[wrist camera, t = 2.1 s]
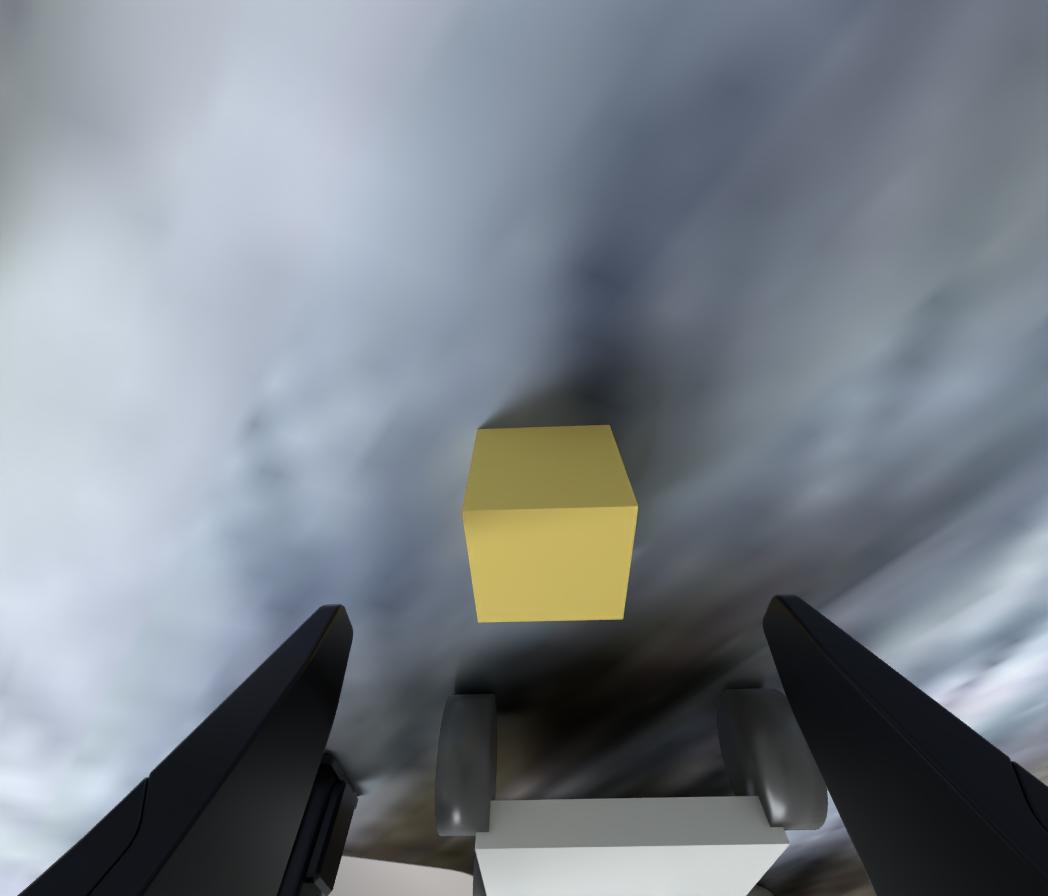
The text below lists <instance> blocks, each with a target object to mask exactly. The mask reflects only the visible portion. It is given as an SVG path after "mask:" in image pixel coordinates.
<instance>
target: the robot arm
mask: <svg viewBox="0 0 1048 896" xmlns="http://www.w3.org/2000/svg"><path fill="white" fill-rule="evenodd" d="M763 630H764V633H765V636H766V639H767V642H768V645H769V647H770V650H771V653H772V656H773V659H774V662H775V665H776V668H777V671H778V674H779V676H780V679H781V682H782V685H783V688H784V691H785V694H786V696H787V699H788V702H789V704H790V707H791V709H792V712H793V714H794V716H795V719H796V721H797V723H798V725H799V727H800V729H801V732H802V734H803V736H804V738H805V740H806V743H807V745H808V747H809V749H810V751H811V753H812V756H813V758H814V760H815V762H816V764H817V767H818V769H819V771H820V773H821V775H822V778H823V780H824V782H825V784H826V786H827V788H828V791H829V793H830V795H831V797H832V799H833V802H834V804H835V806H836V808H837V810H838V812H839V815H840V817H841V819H842V821H843V823H844V826H845V828H846V830H847V832H848V834H849V836H850V839H851V841H852V843H853V845H854V847H855V850H856V852H857V854H858V856H859V858H860V861H861V863H862V865H863V867H864V869H865V871H866V874H867V876H868V878H869V880H870V882H871V885H872V887H873V889H874V891H875V893H876V895H877V896H1048V786H1046V785H1045V784H1044V783H1043V782H1041V781H1040V780H1039V779H1037V778H1036V777H1035V776H1033V775H1032V774H1031V773H1029V772H1028V771H1027V770H1025V769H1024V768H1023V767H1022V766H1020V765H1019V764H1018V763H1016V762H1014V761H1011V760H1010V758H1009V757H1008V756H1007V755H1006V754H1004V753H1003V752H1002V751H1000V750H999V749H998V748H996V747H995V746H994V745H992V744H991V743H990V742H989V741H987V740H986V739H985V738H983V737H982V736H981V735H979V734H978V733H977V732H975V731H974V730H973V729H971V728H970V727H969V726H968V725H966V724H965V723H964V722H962V721H961V720H960V719H958V718H957V717H956V716H954V715H953V714H952V713H950V712H949V711H948V710H947V709H945V708H944V707H943V706H941V705H940V704H939V703H937V702H936V701H935V700H933V699H932V698H931V697H930V696H928V695H927V694H926V693H924V692H923V691H922V690H920V689H919V688H918V687H916V686H915V685H914V684H912V683H911V682H910V681H909V680H907V679H906V678H905V677H903V676H902V675H901V674H899V673H898V672H897V671H895V670H894V669H893V668H891V667H890V666H889V665H888V664H886V663H885V662H884V661H882V660H881V659H880V658H878V657H877V656H876V655H874V654H873V653H872V652H870V651H869V650H868V649H867V648H865V647H864V646H863V645H861V644H860V643H859V642H857V641H856V640H855V639H853V638H852V637H851V636H849V635H848V634H847V633H846V632H844V631H843V630H842V629H840V628H839V627H838V626H836V625H835V624H834V623H832V622H831V621H830V620H829V619H827V618H826V617H825V616H823V615H822V614H821V613H819V612H818V611H817V610H815V609H814V608H813V607H811V606H810V605H809V604H808V603H806V602H805V601H804V600H802V599H801V598H799V597H798V596H796V595H791V594H787V595H775V596H773V597H772V599H771V601H770V604H769V606H768V608H767V611H766V613H765V615H764V618H763ZM352 639H353V628H352V625H351V623H350V620H349V617H348V615H347V612H346V609H345V607H344V606H343V605H341V604H329V605H323V606H321V607H320V608H319V609H318V610H316V611H315V612H314V613H313V614H312V615H311V616H310V617H309V618H308V619H307V620H306V621H305V622H304V623H303V624H302V625H301V626H300V627H299V628H298V629H297V630H296V631H295V632H294V633H293V634H292V635H291V636H290V637H289V638H288V639H287V640H286V641H285V642H284V643H283V644H282V645H281V646H280V647H279V648H278V649H277V650H276V651H274V652H273V653H272V654H271V655H270V656H269V657H268V658H267V659H266V660H265V661H264V662H263V663H262V664H261V665H260V666H259V667H258V668H257V669H256V670H255V671H254V672H253V673H252V674H251V675H250V676H249V677H248V678H247V679H246V680H245V681H244V682H243V683H242V684H241V685H240V686H239V687H238V688H237V689H236V690H235V691H234V692H233V693H231V694H230V695H229V696H228V697H227V698H226V699H225V700H224V701H223V702H222V703H221V704H220V705H219V706H218V707H217V708H216V709H215V710H214V711H213V712H212V713H211V714H210V715H209V716H208V717H207V718H206V719H205V720H204V721H203V722H202V723H201V724H200V725H199V726H198V727H197V728H196V729H195V730H194V731H193V732H192V733H191V734H189V735H188V736H187V737H186V738H185V739H184V740H183V741H182V742H181V743H180V744H179V745H178V746H177V747H176V748H175V749H174V750H173V751H172V752H171V753H170V754H169V755H168V756H167V757H166V758H165V759H164V760H163V761H162V762H161V763H160V764H159V765H158V766H157V767H156V768H155V769H154V770H153V771H152V772H151V773H150V775H149V778H148V777H147V778H144V779H143V780H142V781H141V782H140V783H139V784H138V785H137V786H136V787H135V788H134V789H133V790H132V791H131V792H130V793H129V794H128V795H127V796H126V797H125V798H124V799H123V800H122V801H121V802H120V803H119V804H117V805H116V806H115V807H114V808H113V809H112V810H111V811H110V812H109V813H108V814H107V815H106V816H105V817H104V818H103V819H102V820H101V821H100V822H98V823H97V824H96V825H95V826H94V827H93V828H92V829H91V830H90V831H89V832H88V833H87V834H86V835H85V836H84V837H83V838H82V839H80V840H79V841H78V842H77V843H76V844H75V845H74V846H73V847H72V848H70V849H69V850H68V851H67V852H66V853H65V854H64V855H63V856H62V857H60V858H59V859H58V860H57V861H56V862H55V863H54V864H53V865H52V866H50V867H49V868H48V869H47V870H46V871H45V872H44V873H43V874H42V875H40V876H39V877H38V878H37V879H36V880H35V881H34V882H33V883H31V884H30V885H29V886H28V887H27V888H26V889H25V890H23V891H22V892H21V893H20V894H19V895H18V896H328V895H329V894H330V893H331V891H332V890H333V887H334V883H335V879H336V875H337V872H338V868H339V864H340V861H341V857H342V853H343V849H344V846H345V842H346V838H347V834H348V831H349V827H350V823H351V819H352V816H353V812H354V809H356V806H357V803H358V798H357V796H356V795H355V793H354V791H353V789H352V788H351V786H350V784H349V782H348V780H347V779H346V777H345V775H344V773H343V772H342V770H341V768H340V766H339V764H338V763H337V761H336V759H335V758H334V757H333V756H331V755H328V754H323V752H324V749H325V746H326V743H327V740H328V737H329V734H330V731H331V728H332V725H333V722H334V718H335V715H336V711H337V707H338V703H339V698H340V694H341V689H342V685H343V680H344V676H345V671H346V667H347V662H348V658H349V653H350V649H351V644H352Z"/></svg>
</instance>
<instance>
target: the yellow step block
mask: <svg viewBox="0 0 1048 896" xmlns="http://www.w3.org/2000/svg"><path fill="white" fill-rule="evenodd" d="M637 513H638V504H637V501H636V498H635V495H634V492H633V489H632V487H631V484H630V481H629V478H628V475H627V473H626V470H625V467H624V464H623V461H622V458H621V456H620V453H619V450H618V447H617V444H616V442H615V439H614V436H613V433H612V430H611V427H610V425H587V426H557V427H526V428H496V429H478V430H477V435H476V440H475V445H474V451H473V456H472V461H471V466H470V471H469V477H468V482H467V487H466V492H465V498H464V503H463V508H462V515H463V522H464V528H465V535H466V542H467V549H468V556H469V563H470V570H471V577H472V584H473V591H474V598H475V605H476V612H477V619H478V622H521V621H567V620H614V619H623V615H624V608H625V601H626V593H627V586H628V579H629V572H630V564H631V557H632V550H633V542H634V535H635V528H636V521H637Z"/></svg>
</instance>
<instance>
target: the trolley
mask: <svg viewBox="0 0 1048 896" xmlns="http://www.w3.org/2000/svg"><path fill="white" fill-rule="evenodd" d="M717 727H718V736H719V742H720V748H721V752H722V756H723V760H724V764H725V768H726V771H727V774H728V777H729V780H730V783H731V786H732V788H733V791H734V793H735V795H736V796H727V797H670V798H612V799H555V800H498V801H495V795H496V771H497V715H496V701H495V695H494V694H458V695H450V696H449V697H448V700H447V702H446V705H445V709H444V713H443V718H442V724H441V730H440V737H439V745H438V754H437V766H436V783H435V813H436V825H437V830H438V833H439V835H440V836H472V835H476V843H475V860H474V877H473V896H746V895H747V894H748V893H749V892H750V890H751V889H752V888H753V887H754V886H755V885H756V883H757V882H758V881H759V880H760V879H761V877H762V876H763V875H764V874H765V873H766V872H767V870H768V869H769V868H770V867H771V866H772V865H773V863H774V862H775V861H776V860H777V859H778V857H779V856H780V855H781V854H782V853H783V852H784V850H785V849H786V848H787V847H788V846H789V844H790V843H789V840H788V838H787V835H786V833H785V830H816V829H819V828H820V827H822V825H823V824H824V822H825V819H826V816H827V808H828V797H827V787H826V784H825V782H824V780H823V778H822V775H821V773H820V771H819V769H818V767H817V764H816V762H815V760H814V758H813V756H812V753H811V751H810V749H809V747H808V745H807V743H806V740H805V738H804V736H803V734H802V732H801V729H800V727H799V725H798V723H797V721H796V719H795V716H794V714H793V712H792V709H791V707H790V704H789V702H788V699H787V697H786V696H785V695H784V694H783V693H781V692H780V691H778V690H776V689H772V688H760V689H726V690H724V691H723V692H722V693H721V695H720V697H719V700H718V705H717Z"/></svg>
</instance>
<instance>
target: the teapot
mask: <svg viewBox="0 0 1048 896" xmlns="http://www.w3.org/2000/svg"><path fill="white" fill-rule="evenodd" d="M746 896H774V895H773V894H772V893H771V892H770V891H769V890H767V889H765V888H763V887H761V886H758V885H755V886H754V887H753V888H752V889H751V890H750V892H749V893H748V894H747V895H746Z"/></svg>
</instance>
